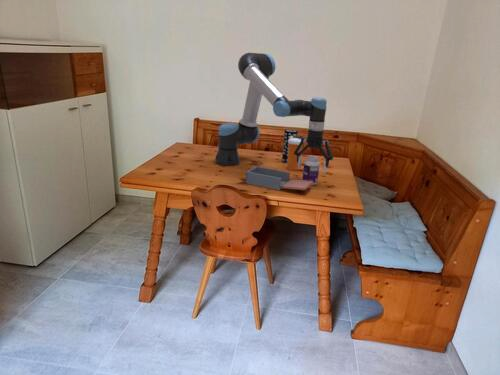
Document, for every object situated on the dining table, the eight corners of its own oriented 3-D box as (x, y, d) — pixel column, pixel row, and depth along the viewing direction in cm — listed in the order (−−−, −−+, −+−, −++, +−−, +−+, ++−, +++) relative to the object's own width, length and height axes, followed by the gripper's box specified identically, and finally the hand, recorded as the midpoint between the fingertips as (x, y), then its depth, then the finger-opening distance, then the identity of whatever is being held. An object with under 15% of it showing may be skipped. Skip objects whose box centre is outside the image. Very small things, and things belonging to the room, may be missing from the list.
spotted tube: (296, 161, 226) (299, 130, 219) (293, 164, 219) (296, 132, 212) (283, 159, 228) (286, 129, 222) (280, 162, 221) (283, 131, 214)
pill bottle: (300, 180, 188) (303, 154, 183) (314, 181, 189) (318, 155, 184) (303, 185, 180) (306, 158, 175) (318, 186, 181) (322, 159, 176)
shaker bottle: (300, 171, 204) (303, 137, 198) (284, 169, 206) (288, 136, 199) (300, 167, 213) (304, 135, 206) (286, 165, 214) (289, 133, 207)
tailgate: (280, 185, 170) (304, 188, 164) (290, 178, 181) (313, 180, 176) (280, 187, 170) (304, 190, 165) (290, 180, 182) (313, 182, 176)
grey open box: (245, 182, 179) (245, 171, 177) (256, 176, 190) (257, 166, 188) (279, 190, 171) (280, 178, 169) (288, 183, 182) (290, 172, 180)
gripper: (290, 127, 177) (286, 168, 184) (338, 133, 167) (333, 176, 173) (295, 126, 183) (291, 164, 190) (342, 131, 173) (337, 172, 180)
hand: (311, 170), depth 182 cm, fingers open, 13 cm apart
